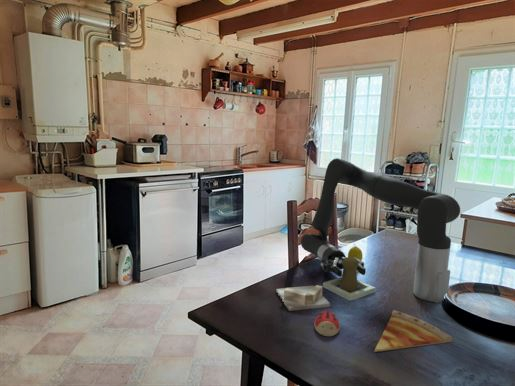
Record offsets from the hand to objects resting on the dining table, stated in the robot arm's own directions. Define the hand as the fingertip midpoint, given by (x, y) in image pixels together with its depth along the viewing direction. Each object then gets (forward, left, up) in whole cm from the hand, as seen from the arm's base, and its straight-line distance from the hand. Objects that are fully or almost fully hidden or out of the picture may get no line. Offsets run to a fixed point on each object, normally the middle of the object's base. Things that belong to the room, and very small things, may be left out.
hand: (352, 273), depth 118 cm
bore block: (+2, -1, -7) cm, 7 cm away
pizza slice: (-22, +8, -7) cm, 25 cm away
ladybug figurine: (-11, +23, -7) cm, 26 cm away
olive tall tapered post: (+2, -1, -7) cm, 7 cm away
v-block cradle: (+5, +17, -7) cm, 19 cm away
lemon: (+16, -20, -7) cm, 26 cm away
